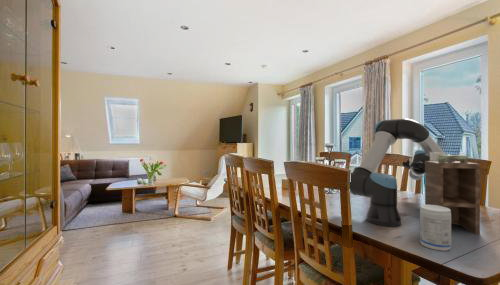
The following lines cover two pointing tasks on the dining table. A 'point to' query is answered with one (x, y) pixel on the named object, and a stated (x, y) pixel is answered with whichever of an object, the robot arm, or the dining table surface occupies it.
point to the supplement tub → (435, 227)
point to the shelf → (455, 189)
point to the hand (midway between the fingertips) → (425, 158)
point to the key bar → (435, 157)
